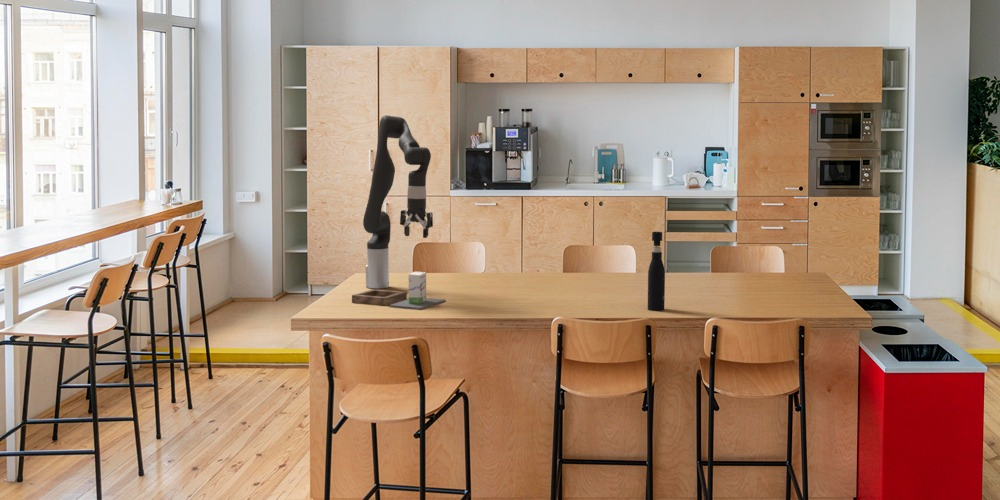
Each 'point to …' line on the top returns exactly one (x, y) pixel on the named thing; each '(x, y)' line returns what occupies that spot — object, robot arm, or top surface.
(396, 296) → the frame
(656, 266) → the wine bottle
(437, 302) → the rubber mat
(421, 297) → the ink box
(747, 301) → the top surface
